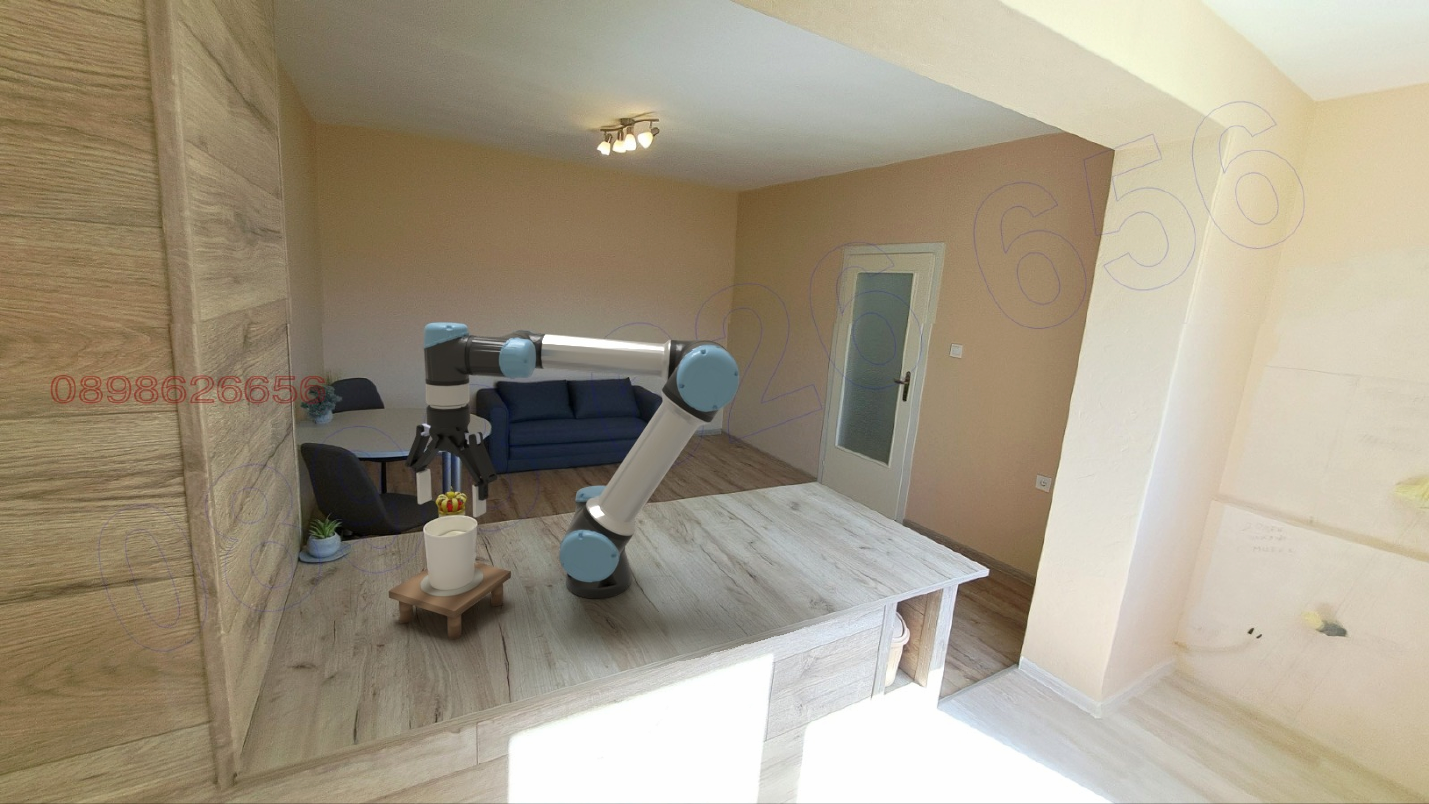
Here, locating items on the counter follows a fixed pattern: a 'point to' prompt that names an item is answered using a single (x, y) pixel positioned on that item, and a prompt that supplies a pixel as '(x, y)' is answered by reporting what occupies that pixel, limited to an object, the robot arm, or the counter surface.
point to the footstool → (450, 595)
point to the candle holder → (450, 551)
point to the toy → (451, 504)
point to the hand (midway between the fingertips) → (451, 508)
